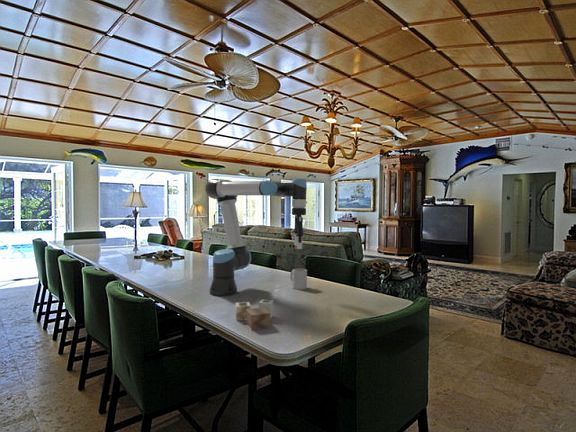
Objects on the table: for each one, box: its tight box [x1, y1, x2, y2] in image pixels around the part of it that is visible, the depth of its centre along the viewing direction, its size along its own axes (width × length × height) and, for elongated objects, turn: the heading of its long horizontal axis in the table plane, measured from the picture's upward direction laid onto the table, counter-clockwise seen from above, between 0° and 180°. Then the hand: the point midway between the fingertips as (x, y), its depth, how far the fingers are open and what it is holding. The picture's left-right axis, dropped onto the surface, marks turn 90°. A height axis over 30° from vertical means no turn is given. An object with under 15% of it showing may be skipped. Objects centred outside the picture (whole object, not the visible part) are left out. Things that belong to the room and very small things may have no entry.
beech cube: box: [235, 301, 252, 321], centre depth 148 cm, size 6×6×6 cm
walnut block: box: [245, 307, 271, 330], centre depth 140 cm, size 8×8×6 cm
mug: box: [289, 267, 308, 291], centre depth 204 cm, size 12×8×11 cm
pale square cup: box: [258, 299, 274, 320], centre depth 150 cm, size 5×5×7 cm
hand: (298, 247), depth 184 cm, fingers open, 13 cm apart
